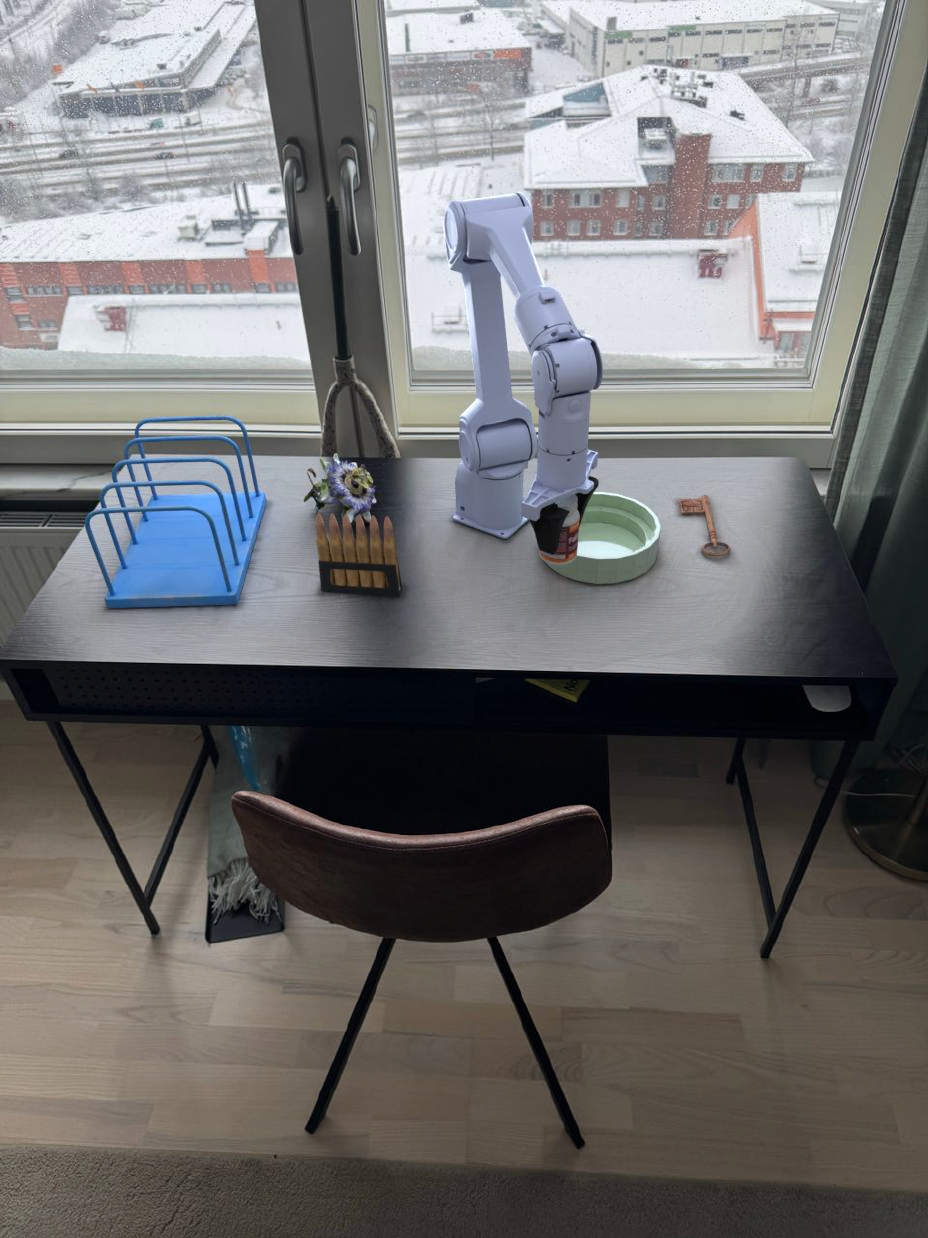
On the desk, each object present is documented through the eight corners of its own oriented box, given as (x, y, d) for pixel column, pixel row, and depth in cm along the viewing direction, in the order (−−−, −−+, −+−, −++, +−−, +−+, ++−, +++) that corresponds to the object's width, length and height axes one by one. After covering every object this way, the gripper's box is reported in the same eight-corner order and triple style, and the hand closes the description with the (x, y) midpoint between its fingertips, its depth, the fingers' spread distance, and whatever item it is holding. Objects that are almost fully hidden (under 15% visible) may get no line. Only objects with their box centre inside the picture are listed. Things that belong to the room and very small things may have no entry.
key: (678, 500, 140) (688, 559, 128) (678, 495, 139) (688, 553, 127) (718, 498, 139) (731, 557, 127) (718, 493, 138) (732, 552, 127)
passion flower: (368, 550, 141) (366, 523, 129) (297, 537, 140) (289, 508, 129) (382, 482, 144) (382, 449, 132) (313, 469, 143) (306, 435, 132)
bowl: (517, 560, 129) (517, 533, 126) (576, 506, 139) (577, 480, 136) (622, 600, 121) (625, 573, 118) (676, 540, 131) (680, 513, 128)
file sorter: (154, 505, 142) (128, 414, 132) (267, 502, 142) (250, 410, 132) (106, 609, 123) (72, 511, 113) (238, 606, 123) (215, 508, 113)
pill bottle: (575, 568, 114) (578, 510, 109) (536, 564, 115) (538, 507, 110) (579, 546, 118) (582, 489, 113) (541, 542, 119) (543, 485, 113)
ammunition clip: (321, 592, 124) (309, 516, 117) (324, 583, 126) (312, 508, 118) (399, 596, 123) (393, 520, 116) (402, 587, 125) (395, 512, 117)
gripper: (560, 481, 100) (556, 581, 109) (623, 426, 109) (614, 522, 118) (505, 463, 103) (505, 561, 112) (571, 411, 112) (566, 506, 121)
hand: (558, 540), depth 115 cm, fingers closed on pill bottle, 5 cm apart
